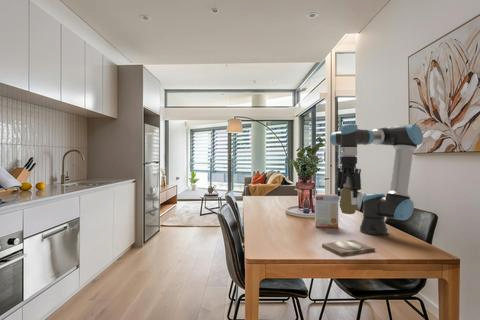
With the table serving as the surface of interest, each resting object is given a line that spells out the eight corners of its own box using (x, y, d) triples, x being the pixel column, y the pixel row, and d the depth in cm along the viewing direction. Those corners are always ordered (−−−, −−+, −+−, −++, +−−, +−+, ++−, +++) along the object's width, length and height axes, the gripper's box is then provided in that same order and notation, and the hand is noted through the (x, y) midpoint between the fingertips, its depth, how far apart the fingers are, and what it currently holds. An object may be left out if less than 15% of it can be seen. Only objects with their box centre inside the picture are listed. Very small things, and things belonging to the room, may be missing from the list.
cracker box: (336, 225, 184) (336, 194, 184) (338, 228, 178) (338, 195, 178) (314, 225, 185) (314, 193, 185) (315, 227, 179) (316, 194, 179)
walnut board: (353, 242, 148) (353, 239, 148) (375, 251, 135) (375, 247, 135) (321, 246, 141) (321, 243, 141) (341, 256, 128) (341, 251, 128)
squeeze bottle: (352, 211, 142) (353, 175, 142) (360, 214, 134) (360, 177, 133) (336, 211, 141) (337, 175, 141) (343, 215, 133) (343, 177, 133)
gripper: (329, 156, 145) (329, 200, 145) (357, 156, 127) (356, 207, 127) (341, 156, 148) (340, 200, 148) (370, 156, 129) (369, 206, 130)
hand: (348, 203), depth 138 cm, fingers closed on squeeze bottle, 6 cm apart
